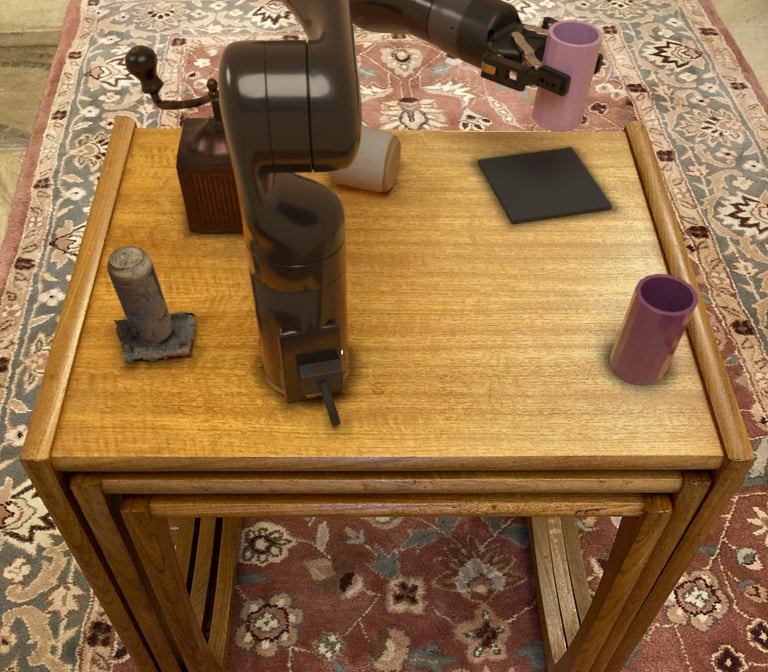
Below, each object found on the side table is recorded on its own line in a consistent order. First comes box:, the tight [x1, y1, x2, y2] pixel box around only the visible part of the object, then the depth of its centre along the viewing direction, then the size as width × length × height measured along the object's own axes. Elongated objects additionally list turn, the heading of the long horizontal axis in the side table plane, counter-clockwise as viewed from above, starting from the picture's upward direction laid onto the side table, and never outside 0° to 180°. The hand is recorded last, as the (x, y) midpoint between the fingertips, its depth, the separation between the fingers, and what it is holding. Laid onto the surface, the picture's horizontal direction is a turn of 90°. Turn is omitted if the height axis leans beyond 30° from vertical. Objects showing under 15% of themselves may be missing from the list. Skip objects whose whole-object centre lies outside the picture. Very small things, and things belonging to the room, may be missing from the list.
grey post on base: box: [106, 245, 197, 365], centre depth 80 cm, size 9×8×12 cm
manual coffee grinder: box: [124, 44, 244, 235], centre depth 91 cm, size 16×11×18 cm
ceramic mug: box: [328, 124, 402, 193], centre depth 100 cm, size 11×8×8 cm
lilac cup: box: [531, 19, 604, 133], centre depth 92 cm, size 6×6×10 cm
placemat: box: [477, 146, 613, 225], centre depth 103 cm, size 14×14×1 cm
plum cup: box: [608, 273, 699, 386], centre depth 81 cm, size 6×6×10 cm
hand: (584, 75), depth 90 cm, fingers closed on lilac cup, 6 cm apart
